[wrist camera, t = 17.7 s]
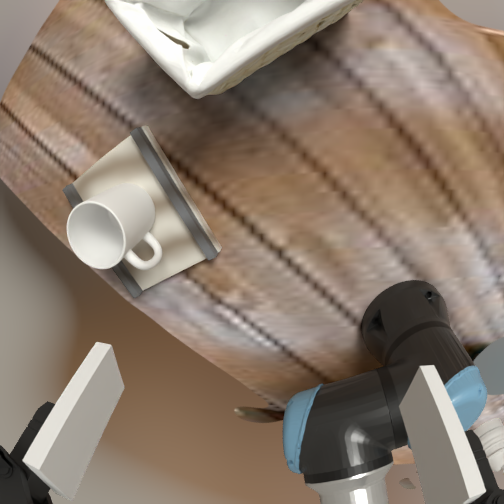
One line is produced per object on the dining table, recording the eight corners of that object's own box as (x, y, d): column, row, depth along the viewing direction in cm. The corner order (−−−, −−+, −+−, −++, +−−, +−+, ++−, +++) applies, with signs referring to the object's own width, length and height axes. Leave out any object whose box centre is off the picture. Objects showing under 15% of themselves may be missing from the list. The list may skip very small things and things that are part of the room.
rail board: (221, 247, 44) (218, 255, 42) (139, 289, 48) (132, 298, 46) (147, 125, 38) (138, 126, 35) (72, 186, 42) (61, 190, 39)
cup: (124, 169, 39) (85, 186, 30) (188, 226, 42) (164, 258, 32) (96, 212, 42) (57, 237, 33) (155, 265, 45) (128, 302, 35)
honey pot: (487, 417, 60) (507, 463, 44) (506, 417, 61) (525, 458, 44) (459, 443, 65) (474, 487, 49) (480, 442, 66) (495, 482, 50)
